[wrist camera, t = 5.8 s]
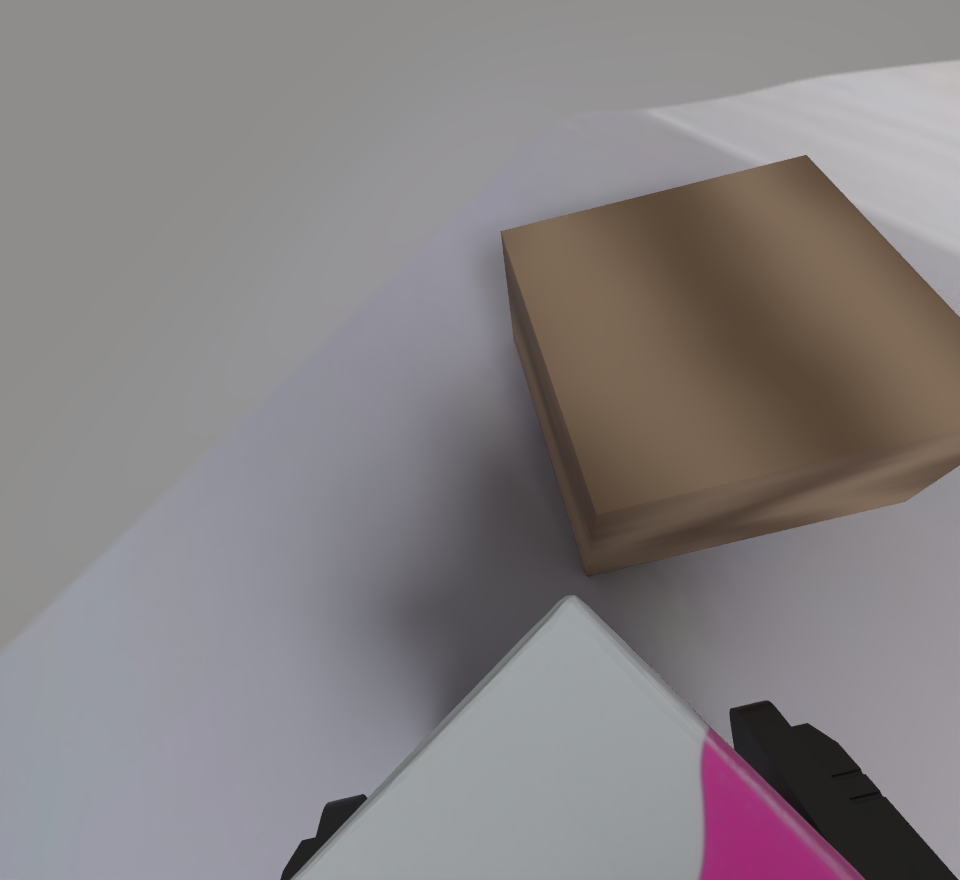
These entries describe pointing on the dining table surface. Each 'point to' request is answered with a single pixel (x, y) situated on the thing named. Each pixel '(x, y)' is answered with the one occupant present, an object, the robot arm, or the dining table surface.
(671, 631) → the dining table surface
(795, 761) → the robot arm
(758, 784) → the supplement box
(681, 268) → the walnut block
